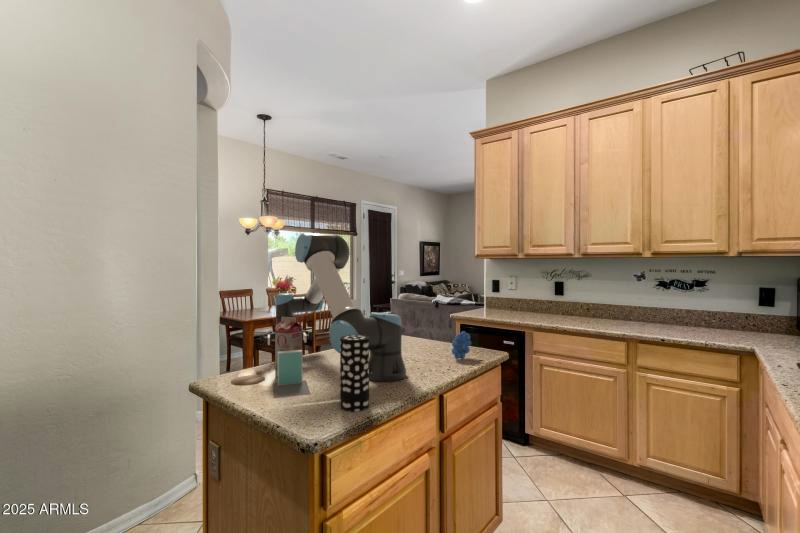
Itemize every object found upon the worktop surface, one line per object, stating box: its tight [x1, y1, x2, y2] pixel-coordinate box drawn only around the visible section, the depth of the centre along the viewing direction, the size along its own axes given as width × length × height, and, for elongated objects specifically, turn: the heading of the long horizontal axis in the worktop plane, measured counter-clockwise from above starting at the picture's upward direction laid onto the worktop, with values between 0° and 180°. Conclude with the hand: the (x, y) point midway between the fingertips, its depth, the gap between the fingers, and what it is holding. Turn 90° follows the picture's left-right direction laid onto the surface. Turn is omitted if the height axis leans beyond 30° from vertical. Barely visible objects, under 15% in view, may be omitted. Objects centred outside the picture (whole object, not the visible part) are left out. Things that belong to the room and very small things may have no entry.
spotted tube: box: [339, 335, 370, 413], centre depth 111 cm, size 8×8×20 cm
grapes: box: [451, 330, 472, 360], centre depth 168 cm, size 12×7×12 cm, turn 128°
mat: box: [272, 379, 311, 399], centre depth 125 cm, size 15×11×1 cm
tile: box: [277, 349, 303, 386], centre depth 130 cm, size 2×8×11 cm, turn 109°
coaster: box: [230, 374, 266, 386], centre depth 134 cm, size 11×11×1 cm
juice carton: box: [274, 317, 303, 379], centre depth 139 cm, size 7×7×22 cm
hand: (287, 340), depth 148 cm, fingers open, 13 cm apart
